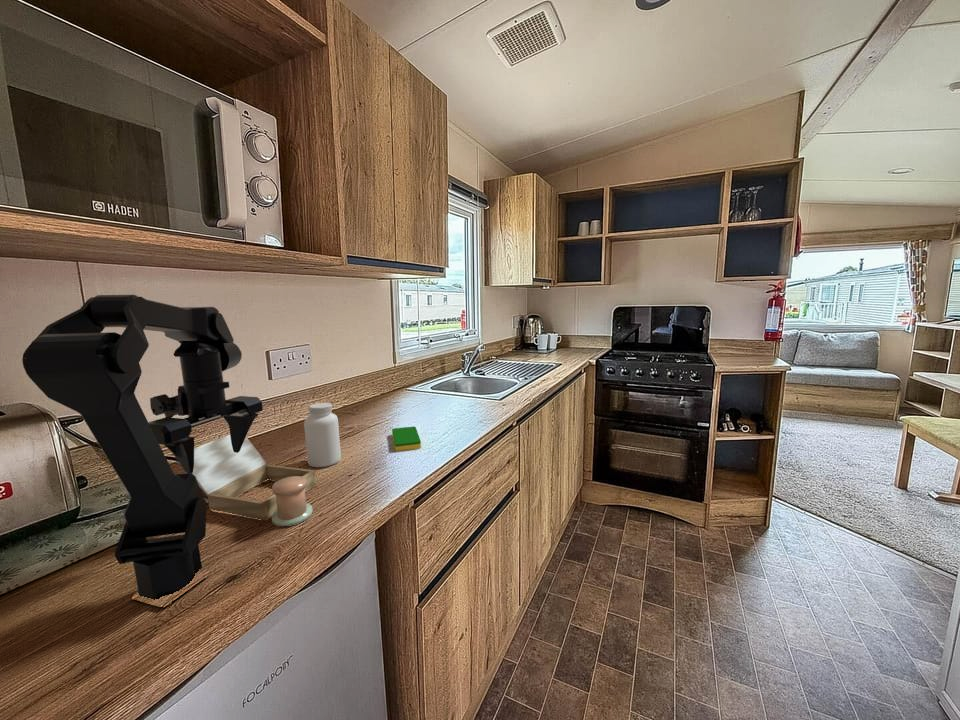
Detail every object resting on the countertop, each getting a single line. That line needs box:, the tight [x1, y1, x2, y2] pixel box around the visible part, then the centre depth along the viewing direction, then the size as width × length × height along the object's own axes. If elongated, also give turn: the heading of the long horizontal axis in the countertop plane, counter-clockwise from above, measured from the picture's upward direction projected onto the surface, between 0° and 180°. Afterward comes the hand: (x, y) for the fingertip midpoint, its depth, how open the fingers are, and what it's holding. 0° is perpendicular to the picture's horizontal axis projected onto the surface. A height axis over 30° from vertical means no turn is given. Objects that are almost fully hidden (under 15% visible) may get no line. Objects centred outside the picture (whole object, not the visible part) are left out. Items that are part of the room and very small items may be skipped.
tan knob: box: [271, 476, 307, 520], centre depth 73 cm, size 6×6×6 cm
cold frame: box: [192, 434, 317, 521], centre depth 80 cm, size 14×20×11 cm
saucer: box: [271, 502, 314, 527], centre depth 73 cm, size 7×7×1 cm
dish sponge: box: [391, 426, 422, 452], centre depth 111 cm, size 7×14×2 cm, turn 16°
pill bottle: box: [303, 402, 342, 468], centre depth 97 cm, size 8×8×15 cm
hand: (214, 461), depth 70 cm, fingers open, 9 cm apart
